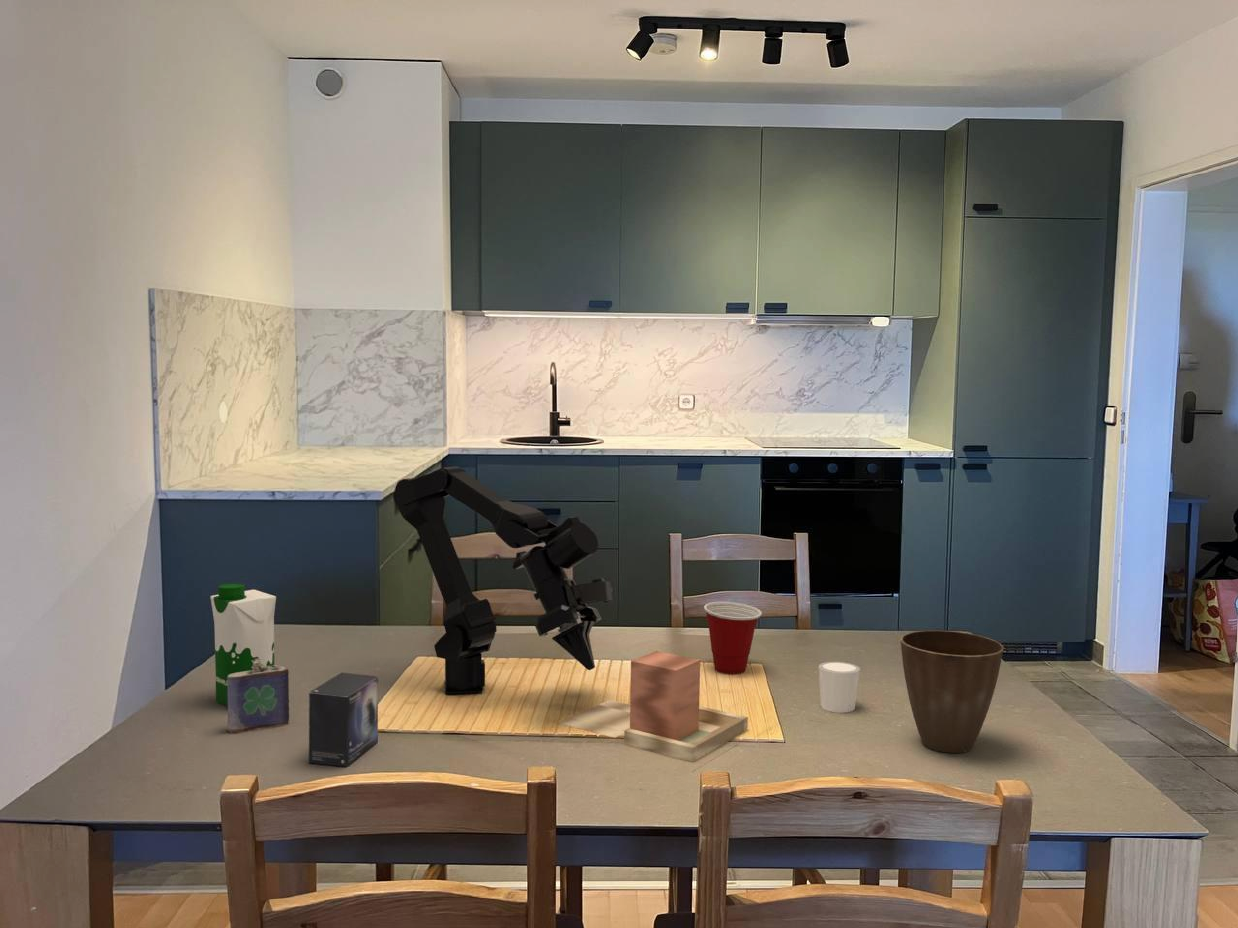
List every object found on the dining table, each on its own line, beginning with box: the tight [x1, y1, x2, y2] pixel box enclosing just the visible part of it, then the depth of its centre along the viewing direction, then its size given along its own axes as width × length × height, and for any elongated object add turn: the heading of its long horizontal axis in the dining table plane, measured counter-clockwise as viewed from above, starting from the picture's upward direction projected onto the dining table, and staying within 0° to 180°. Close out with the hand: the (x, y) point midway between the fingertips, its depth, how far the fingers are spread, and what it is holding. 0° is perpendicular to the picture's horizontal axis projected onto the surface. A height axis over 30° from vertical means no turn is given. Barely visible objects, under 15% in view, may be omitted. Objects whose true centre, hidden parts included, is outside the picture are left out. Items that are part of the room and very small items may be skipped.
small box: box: [307, 672, 379, 767], centre depth 155 cm, size 11×6×10 cm, turn 168°
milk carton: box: [209, 582, 277, 708], centre depth 177 cm, size 9×9×20 cm
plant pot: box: [900, 630, 1005, 754], centre depth 162 cm, size 15×15×16 cm
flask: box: [227, 658, 290, 734], centre depth 166 cm, size 9×3×11 cm, turn 121°
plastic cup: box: [703, 601, 763, 675], centre depth 199 cm, size 11×11×12 cm
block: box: [629, 650, 701, 741], centre depth 162 cm, size 8×7×11 cm
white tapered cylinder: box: [818, 661, 861, 714], centre depth 179 cm, size 7×7×7 cm
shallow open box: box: [556, 699, 749, 772], centre depth 164 cm, size 25×16×4 cm, turn 55°
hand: (591, 668), depth 170 cm, fingers closed
